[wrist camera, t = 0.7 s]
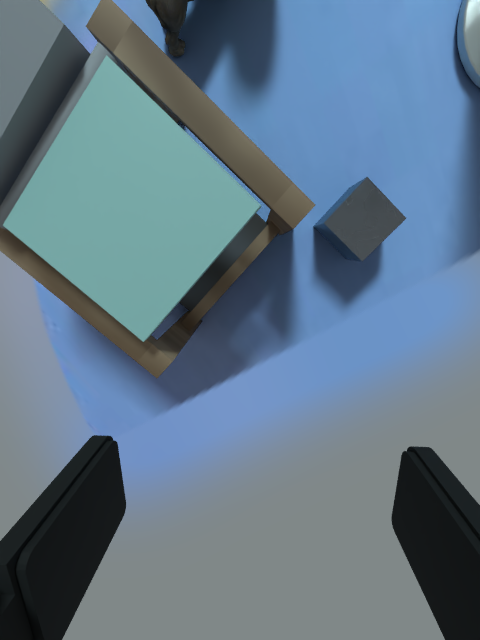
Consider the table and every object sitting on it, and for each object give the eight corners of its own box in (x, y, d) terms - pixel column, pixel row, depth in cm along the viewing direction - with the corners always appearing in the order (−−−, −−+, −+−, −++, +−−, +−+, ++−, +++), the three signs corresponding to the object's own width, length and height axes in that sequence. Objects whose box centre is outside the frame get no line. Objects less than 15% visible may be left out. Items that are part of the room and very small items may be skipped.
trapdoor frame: (168, 98, 28) (104, -7, 16) (293, 220, 30) (315, 205, 18) (75, 233, 32) (-30, 226, 20) (191, 332, 34) (156, 378, 22)
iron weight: (348, 188, 29) (367, 176, 24) (382, 222, 30) (406, 218, 25) (313, 226, 30) (323, 223, 25) (345, 258, 31) (362, 261, 26)
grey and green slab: (32, -16, 17) (-34, -92, 13) (262, 207, 20) (263, 198, 16) (-57, 156, 20) (-132, 135, 16) (154, 333, 22) (132, 351, 19)
